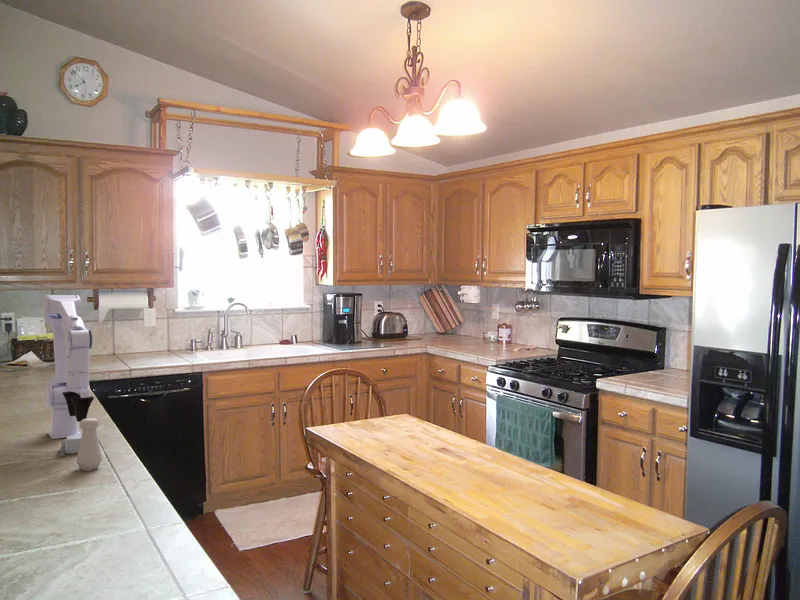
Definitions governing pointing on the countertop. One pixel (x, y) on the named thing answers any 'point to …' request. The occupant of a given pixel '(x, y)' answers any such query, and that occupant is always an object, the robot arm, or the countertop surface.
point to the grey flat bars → (63, 449)
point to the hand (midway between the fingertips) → (77, 418)
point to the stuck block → (73, 444)
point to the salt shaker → (89, 446)
